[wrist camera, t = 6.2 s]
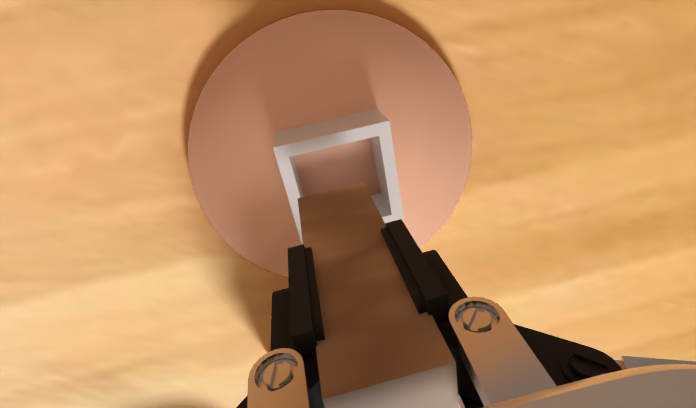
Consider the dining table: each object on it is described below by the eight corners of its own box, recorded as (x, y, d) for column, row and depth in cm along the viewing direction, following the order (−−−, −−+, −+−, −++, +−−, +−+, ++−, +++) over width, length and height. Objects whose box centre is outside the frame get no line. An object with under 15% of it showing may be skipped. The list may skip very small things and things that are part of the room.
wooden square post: (363, 182, 16) (455, 361, 8) (373, 237, 17) (460, 438, 9) (297, 198, 15) (322, 399, 8) (313, 253, 17) (347, 471, 9)
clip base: (458, -22, 19) (493, -30, 16) (472, 243, 26) (497, 274, 23) (139, 48, 18) (107, 54, 15) (244, 299, 25) (238, 339, 22)
